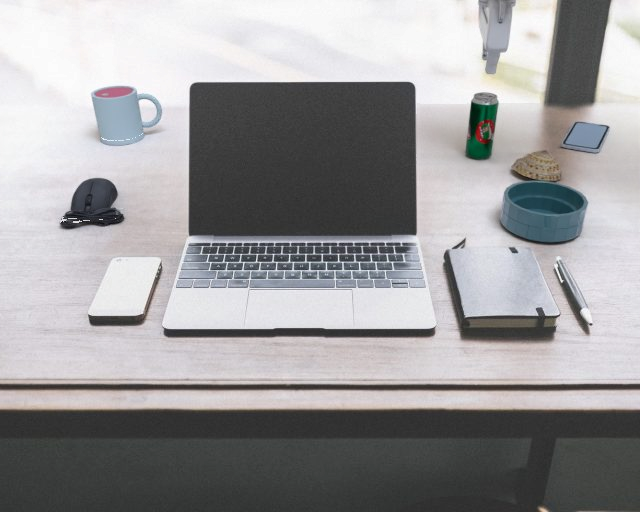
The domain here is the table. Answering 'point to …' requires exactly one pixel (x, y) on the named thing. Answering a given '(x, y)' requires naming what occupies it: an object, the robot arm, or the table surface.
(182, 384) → the table surface
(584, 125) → the smartphone
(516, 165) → the seashell
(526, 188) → the bowl
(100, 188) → the computer mouse
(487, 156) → the soda can
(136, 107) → the mug
